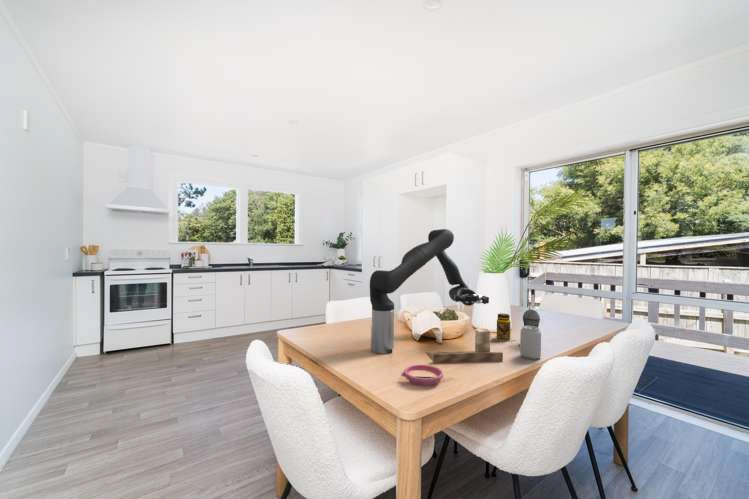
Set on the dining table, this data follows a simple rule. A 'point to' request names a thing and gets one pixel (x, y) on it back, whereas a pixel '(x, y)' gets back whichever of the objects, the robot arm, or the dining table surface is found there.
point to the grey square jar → (530, 342)
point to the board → (465, 356)
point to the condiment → (503, 328)
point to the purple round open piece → (423, 380)
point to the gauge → (482, 340)
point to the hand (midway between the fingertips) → (475, 301)
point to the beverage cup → (531, 317)
